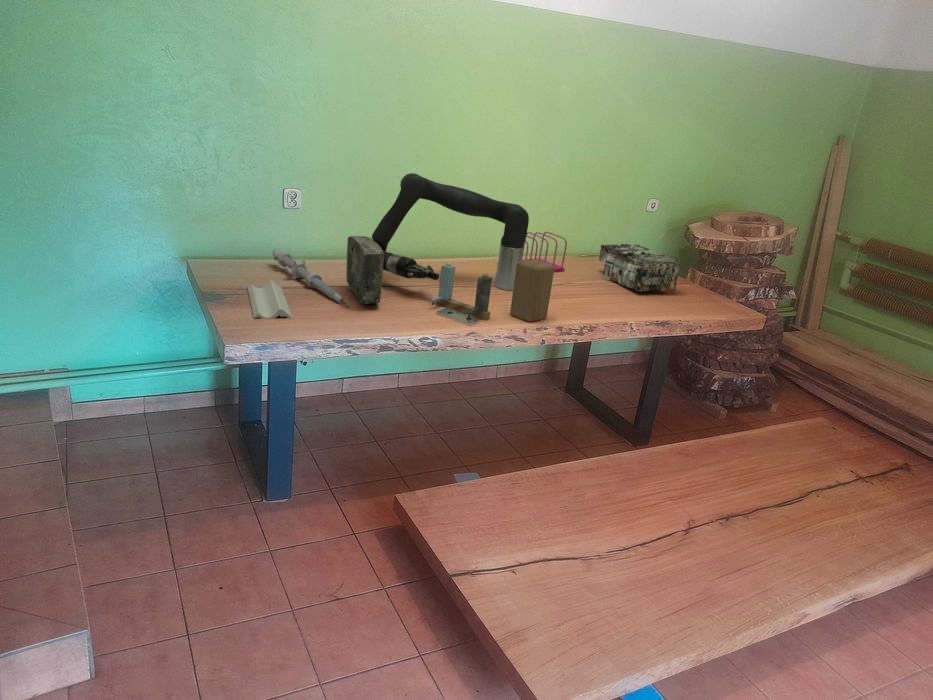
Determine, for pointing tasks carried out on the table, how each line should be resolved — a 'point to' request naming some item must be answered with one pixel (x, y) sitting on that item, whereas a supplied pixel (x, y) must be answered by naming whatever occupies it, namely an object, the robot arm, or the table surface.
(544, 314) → the block
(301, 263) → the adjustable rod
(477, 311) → the dark grey l-shaped piece
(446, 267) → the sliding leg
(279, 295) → the crown molding
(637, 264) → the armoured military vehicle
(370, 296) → the concrete block
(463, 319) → the grey flat plate
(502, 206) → the robot arm
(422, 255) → the table surface
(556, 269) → the file sorter
